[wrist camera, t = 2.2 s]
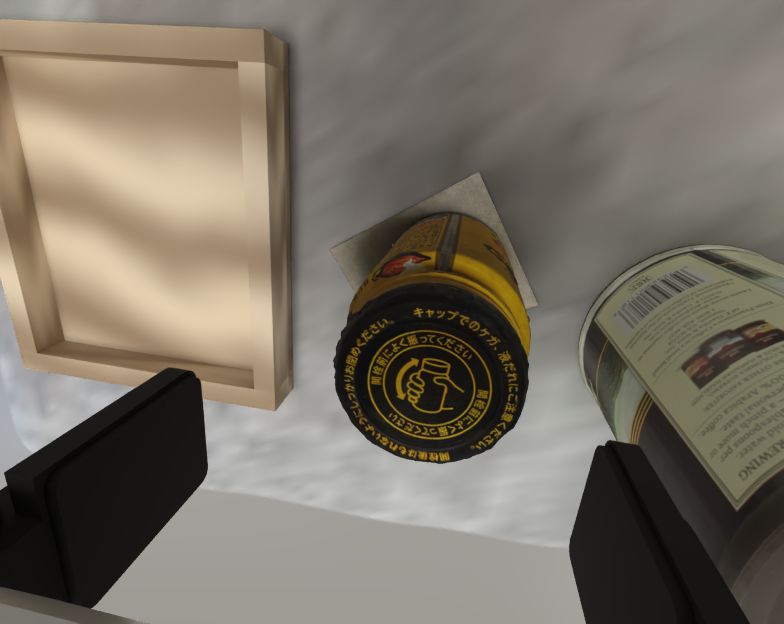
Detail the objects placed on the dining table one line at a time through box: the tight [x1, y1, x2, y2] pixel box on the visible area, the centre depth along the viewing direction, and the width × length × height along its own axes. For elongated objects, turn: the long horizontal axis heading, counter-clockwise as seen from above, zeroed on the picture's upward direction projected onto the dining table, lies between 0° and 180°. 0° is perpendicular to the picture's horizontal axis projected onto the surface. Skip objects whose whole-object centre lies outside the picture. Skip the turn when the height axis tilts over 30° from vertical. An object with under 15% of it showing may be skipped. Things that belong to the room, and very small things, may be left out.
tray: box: [0, 19, 293, 411], centre depth 23 cm, size 18×16×2 cm
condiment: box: [330, 172, 538, 464], centre depth 17 cm, size 7×8×12 cm
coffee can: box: [579, 245, 784, 624], centre depth 15 cm, size 10×10×14 cm
